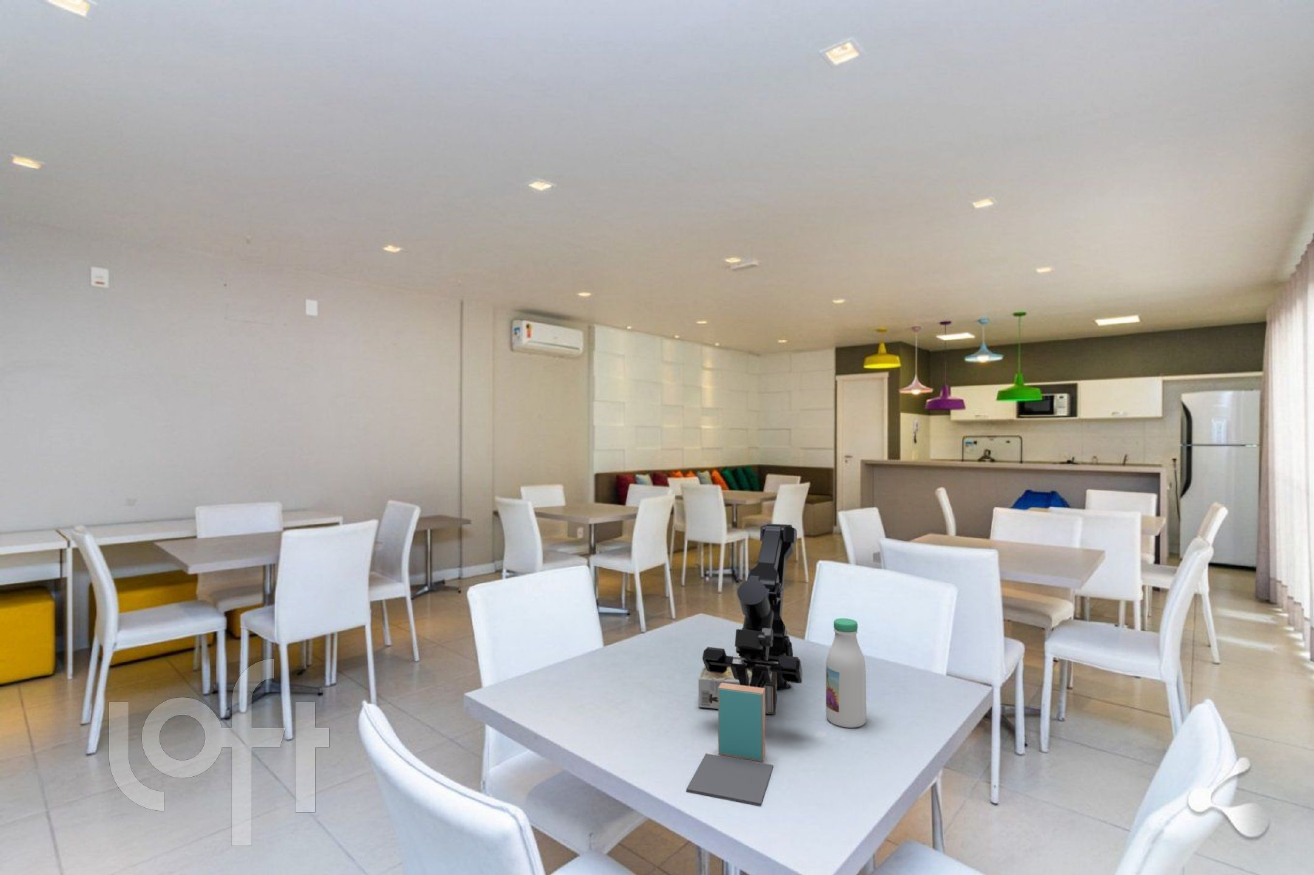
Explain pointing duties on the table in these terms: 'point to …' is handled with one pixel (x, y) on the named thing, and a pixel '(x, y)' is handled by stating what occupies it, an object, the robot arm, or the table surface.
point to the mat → (731, 779)
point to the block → (741, 721)
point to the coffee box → (713, 680)
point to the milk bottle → (845, 677)
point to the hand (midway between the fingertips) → (745, 708)
